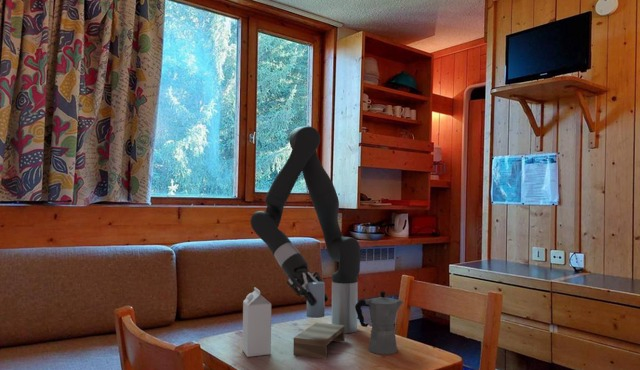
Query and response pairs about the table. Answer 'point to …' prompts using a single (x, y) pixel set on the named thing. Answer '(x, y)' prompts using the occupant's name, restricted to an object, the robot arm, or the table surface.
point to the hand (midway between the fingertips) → (320, 302)
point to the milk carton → (256, 325)
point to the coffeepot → (381, 323)
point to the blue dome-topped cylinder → (319, 295)
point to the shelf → (317, 339)
